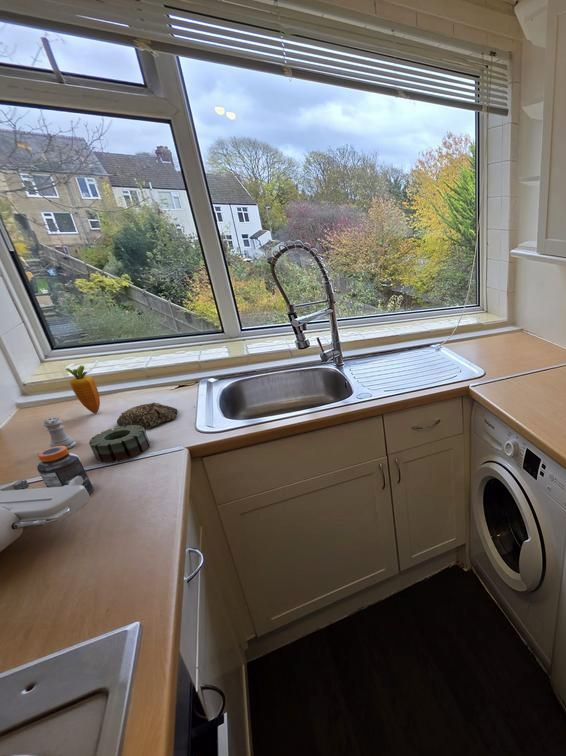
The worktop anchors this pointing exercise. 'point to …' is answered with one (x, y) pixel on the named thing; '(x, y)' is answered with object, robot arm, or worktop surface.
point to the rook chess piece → (58, 434)
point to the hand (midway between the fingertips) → (51, 480)
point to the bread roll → (147, 415)
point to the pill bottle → (61, 467)
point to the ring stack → (119, 443)
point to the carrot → (85, 389)
